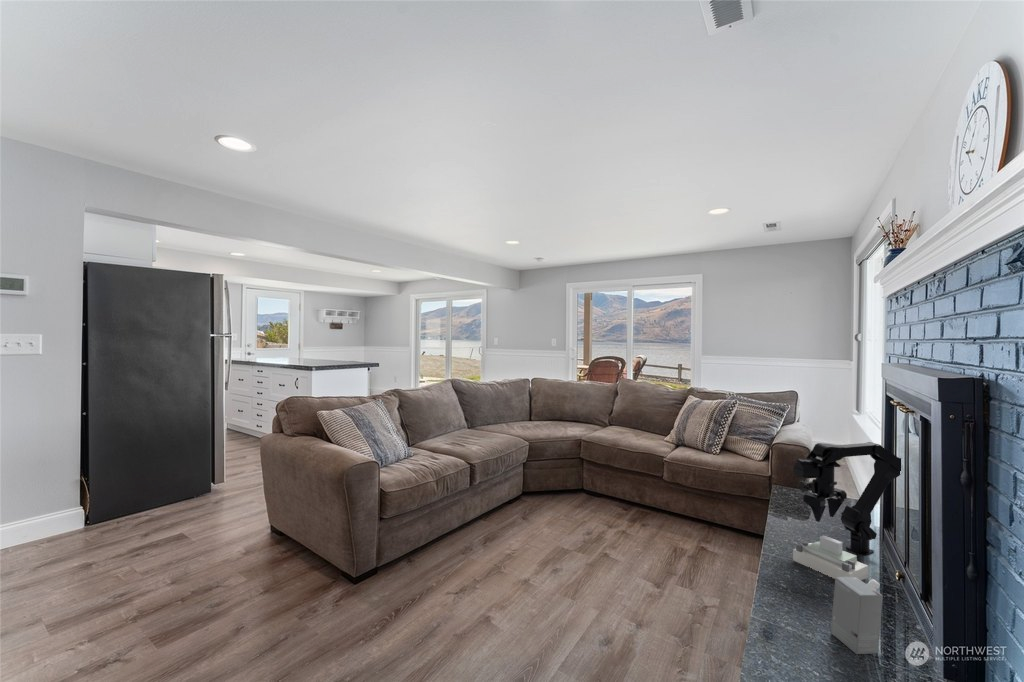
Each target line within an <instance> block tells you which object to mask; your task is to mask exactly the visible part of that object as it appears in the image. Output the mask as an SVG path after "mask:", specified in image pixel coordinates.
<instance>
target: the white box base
mask: <svg viewBox="0 0 1024 682" xmlns="http://www.w3.org/2000/svg"><path fill="white" fill-rule="evenodd" d="M812 543H813V542H810V543H808V542H806V541H801V545H800V543H797V544H796V543H795V548H793V549H792V561H794V562H796V563H798V564H800V565H803V566H805V567H807V568H809V567H810V569H811V568H812V570H814V571H816V572H818V571H819V573H820V572H821V573H820V574H823V575H825V576H827V575H828V576H827V577H830V578H831V577H832V578H831V579H834V580H835V577H856V578H858V579H859V580H861V581H864V580H866V579H868V578H869V565H867V564H865V563H863V562H860V561H858V560H857V562H853V561H851V560H848V564H846V563H842V566H840V565H837V564H835V563H832V562H830V561H828V560H825V559H823V558H821V557H818V556H816V555H813V554H811V553H809V552H806V551H805V550H803V549H802V545H804V546H807V545H810V544H812ZM849 564H850V565H852V569H849Z"/></svg>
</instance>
